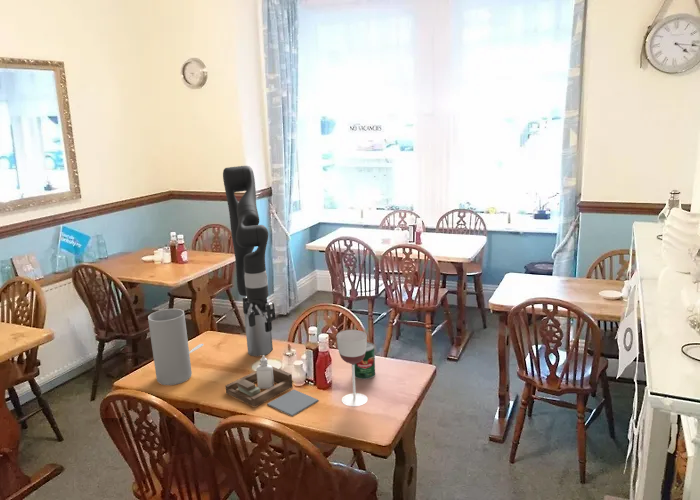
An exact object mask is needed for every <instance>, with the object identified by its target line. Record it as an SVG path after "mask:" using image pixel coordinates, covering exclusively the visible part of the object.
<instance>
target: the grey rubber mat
mask: <svg viewBox="0 0 700 500" xmlns="http://www.w3.org/2000/svg"><path fill="white" fill-rule="evenodd" d="M319 401H320V400H319V399H318V398H316V397H313V396H311V395H308V394H306V393H304V392H302V391H298V390H296V389H292V390H290V391H288V392H286V393H284V394H283V395H280V396H278V397H277V398H275V399H273V400H271V401H269V402H267V406H269V407H271V408H273V409H275V410H278V411H280V412H281V413H284V414H286V415H288V416H291V417H294V416H296V415H297V414H300V413H301V412H303V411H304V410H307V409H308V408H310V407H311V406H313V405H314V404H316V403H318V402H319Z"/></svg>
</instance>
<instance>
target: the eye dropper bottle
mask: <svg viewBox="0 0 700 500" xmlns="http://www.w3.org/2000/svg"><path fill="white" fill-rule="evenodd" d="M259 361H260V363H259V364H261V365H259V364H258V365H257V366H256V370H255V371H256V372H257V381H256V383H257V387H258V388H260V390H267V389H269V388H271V387H273V386H275V382H274V377H273V367H274V366H272V365H271V364H268V358H266V355H263V356H261V358H260V359H259Z"/></svg>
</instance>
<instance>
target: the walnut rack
mask: <svg viewBox="0 0 700 500" xmlns="http://www.w3.org/2000/svg"><path fill="white" fill-rule="evenodd" d="M259 365H261V363H259V364H258V366H259ZM272 367H273V377H274V386H273V387H271V388H269V389H264V391H260V393H259V394H257V395H255V396H253V397H249V396H247V395H244V394H242V393H240V392H238V391H236V389H237V388H238V386H237V382H239V381H242V380H244V379H245V380H247V381H249V382H252V383H254V384H255V383H257V372H256V370H255V371H253V372H251V373H249V374H246V375H244V376H243V377H240V378H239V379H236V380H235V381H231V382H230V383H228V384H225V386H224V387H225V388H224V389H225V394H226V395H228V396H231V397H233V398H235V399H236V400H238V401H241V402H243V403H245V404H247V405H249V406H251V407H253V408H256V407H258V406H260V405H262V404H264V403H266V402H267V401H269V400H271V399H273V398H275V397H277V396H279V395H281V394H282V393H285V392H286V391H288V390H290V389H291V388H293V374H292V373H290V372H287V371H285V370H282V369H280V368H277V367H275V366H272Z"/></svg>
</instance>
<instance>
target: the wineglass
mask: <svg viewBox="0 0 700 500" xmlns="http://www.w3.org/2000/svg"><path fill="white" fill-rule="evenodd" d="M367 342H368V336H367V333H366V332H365V331H362V330H357V329H346V330H345V329H344V330H342V331H339V332H338V333H337V334H336V344H337V348H338V354H339V356H340V358H341V359H342V361H344V362H346V363H347V364H350V365H351V380H352V393H348V394H346V395H344V396H343V397H342V398H341V403H343V405H346V406H348V407H359V406H360V407H361V406H362V405H364V404H366V403H367V402H368V400H369V399H368V397H367V395H365V394H363V393H360V392H359V393H358V392H356V389H357V388H356V377H355V368H354V364H356V363H359V362H361V361H362V360H363V359H364V357H365V353H366V346H367Z"/></svg>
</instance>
